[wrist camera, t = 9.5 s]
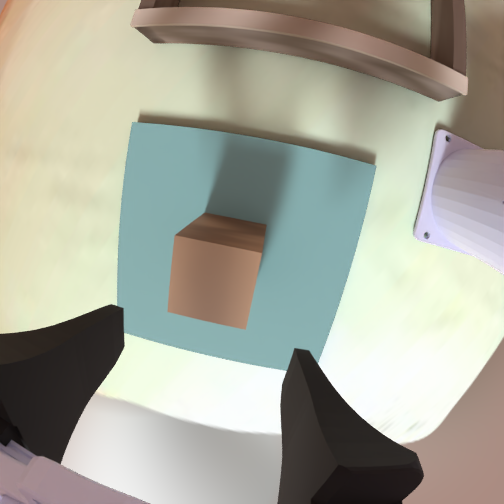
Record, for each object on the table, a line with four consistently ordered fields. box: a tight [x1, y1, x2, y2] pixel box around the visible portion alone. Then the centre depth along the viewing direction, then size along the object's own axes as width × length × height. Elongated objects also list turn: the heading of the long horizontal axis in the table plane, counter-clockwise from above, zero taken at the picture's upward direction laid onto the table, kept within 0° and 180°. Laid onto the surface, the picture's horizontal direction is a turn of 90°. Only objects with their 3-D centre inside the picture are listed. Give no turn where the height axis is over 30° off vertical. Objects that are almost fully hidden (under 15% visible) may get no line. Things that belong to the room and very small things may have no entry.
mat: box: [117, 122, 376, 371], centre depth 20 cm, size 16×16×1 cm
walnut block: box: [167, 213, 267, 330], centre depth 17 cm, size 4×4×6 cm
